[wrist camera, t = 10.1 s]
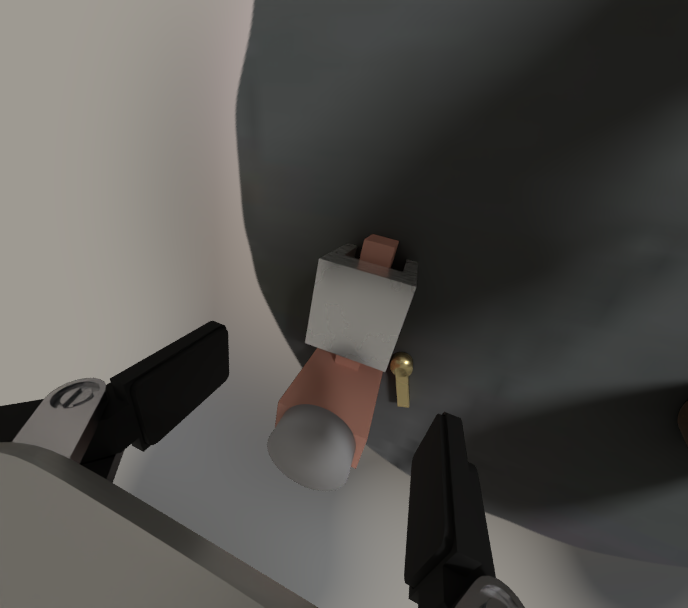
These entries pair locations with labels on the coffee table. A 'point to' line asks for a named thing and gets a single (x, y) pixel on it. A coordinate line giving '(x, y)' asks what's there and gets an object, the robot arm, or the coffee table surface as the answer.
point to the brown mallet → (328, 408)
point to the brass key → (402, 376)
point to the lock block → (359, 307)
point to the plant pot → (683, 422)
